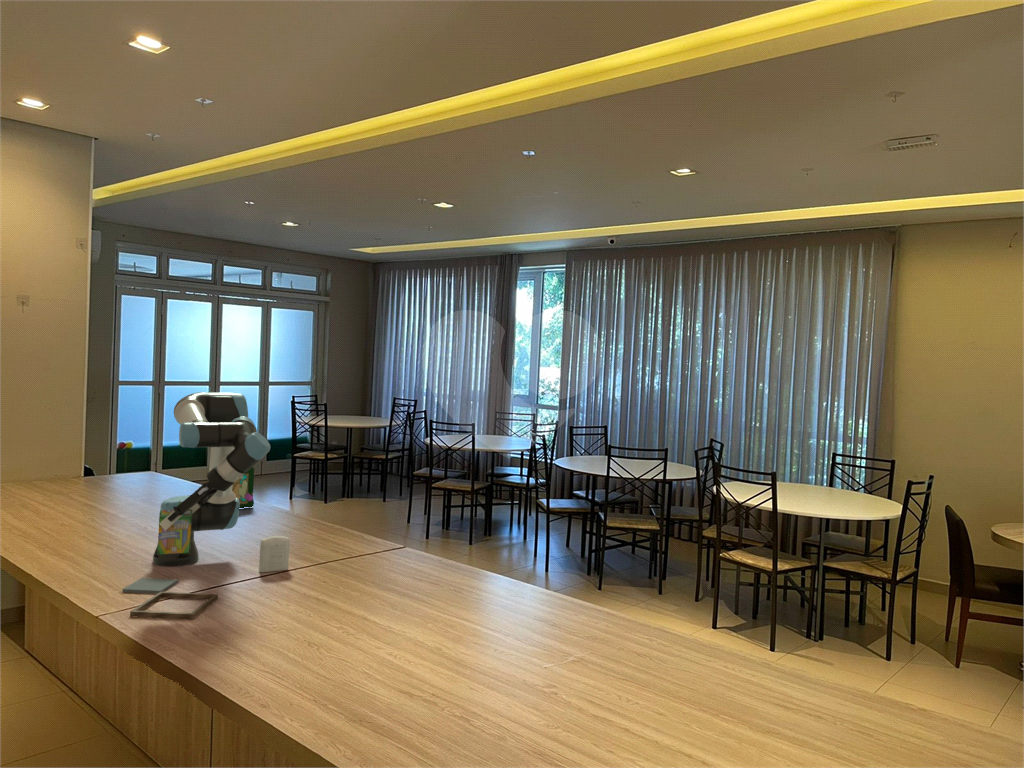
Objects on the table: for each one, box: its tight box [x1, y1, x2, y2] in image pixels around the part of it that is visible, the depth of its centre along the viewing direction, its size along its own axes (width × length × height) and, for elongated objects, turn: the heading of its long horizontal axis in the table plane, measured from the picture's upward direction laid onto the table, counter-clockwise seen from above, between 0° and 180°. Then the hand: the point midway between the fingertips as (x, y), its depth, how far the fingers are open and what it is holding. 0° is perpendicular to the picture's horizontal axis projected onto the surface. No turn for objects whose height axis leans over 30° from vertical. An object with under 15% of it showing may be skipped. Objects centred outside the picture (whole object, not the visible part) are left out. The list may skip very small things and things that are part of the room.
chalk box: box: [157, 501, 192, 555], centre depth 213 cm, size 9×9×15 cm
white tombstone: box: [258, 535, 290, 573], centre depth 253 cm, size 10×4×12 cm, turn 123°
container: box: [232, 467, 255, 508], centre depth 352 cm, size 15×18×25 cm
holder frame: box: [129, 591, 219, 621], centre depth 212 cm, size 18×18×2 cm
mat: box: [122, 577, 179, 595], centre depth 229 cm, size 12×12×1 cm
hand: (172, 522), depth 213 cm, fingers closed on chalk box, 11 cm apart
